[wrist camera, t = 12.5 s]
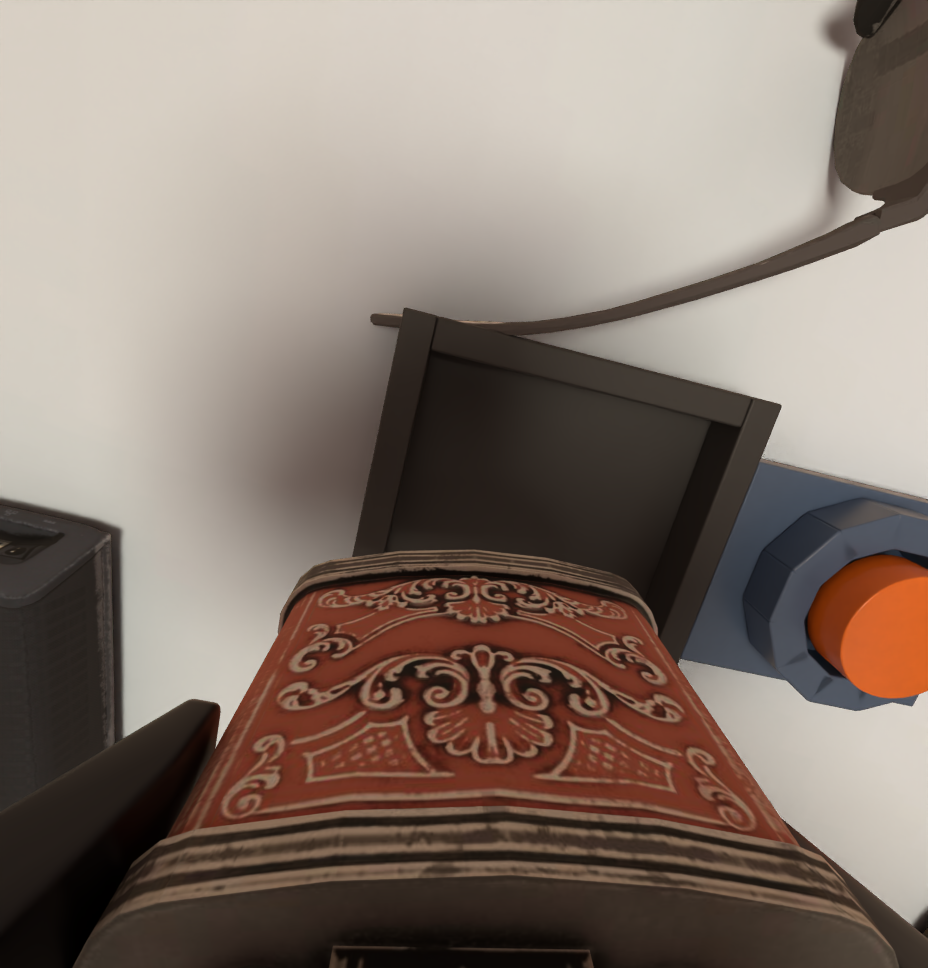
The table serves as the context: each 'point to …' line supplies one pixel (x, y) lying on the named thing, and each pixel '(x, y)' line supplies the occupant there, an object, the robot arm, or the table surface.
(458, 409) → the holder
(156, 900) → the lighter
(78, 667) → the hard drive
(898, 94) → the sunglasses
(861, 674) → the test button
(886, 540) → the box
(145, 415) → the table surface
